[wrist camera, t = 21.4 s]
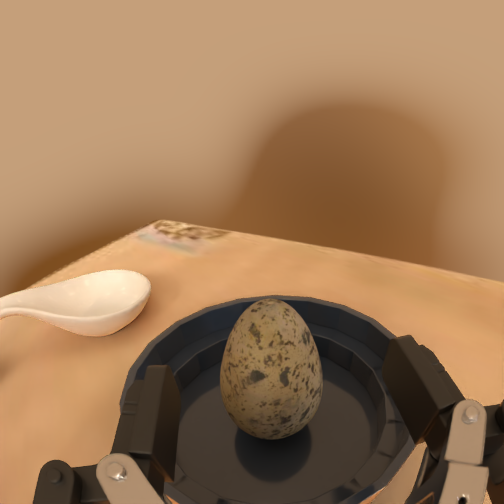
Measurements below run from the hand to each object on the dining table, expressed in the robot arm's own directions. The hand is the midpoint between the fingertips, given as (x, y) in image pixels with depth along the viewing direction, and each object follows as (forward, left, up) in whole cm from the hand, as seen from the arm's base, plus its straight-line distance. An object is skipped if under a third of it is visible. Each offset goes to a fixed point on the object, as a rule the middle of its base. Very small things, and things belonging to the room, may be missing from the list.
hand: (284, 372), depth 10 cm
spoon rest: (+21, -14, -11) cm, 28 cm away
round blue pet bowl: (0, -4, -10) cm, 11 cm away
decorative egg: (0, -4, -10) cm, 11 cm away
